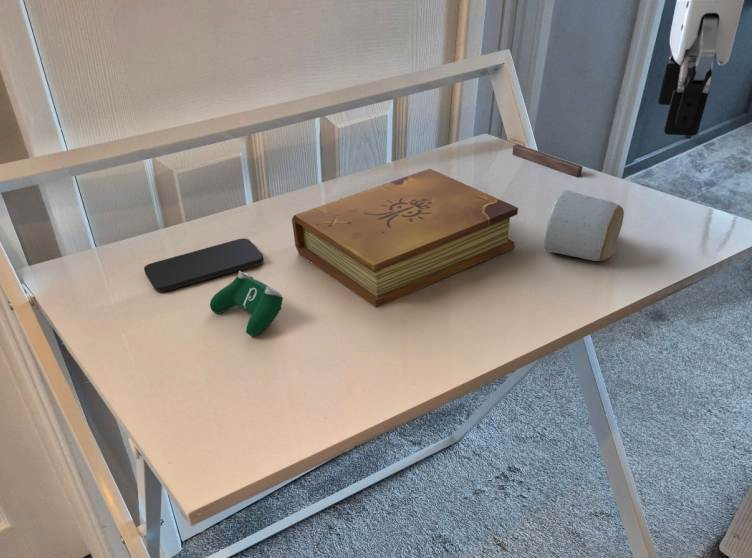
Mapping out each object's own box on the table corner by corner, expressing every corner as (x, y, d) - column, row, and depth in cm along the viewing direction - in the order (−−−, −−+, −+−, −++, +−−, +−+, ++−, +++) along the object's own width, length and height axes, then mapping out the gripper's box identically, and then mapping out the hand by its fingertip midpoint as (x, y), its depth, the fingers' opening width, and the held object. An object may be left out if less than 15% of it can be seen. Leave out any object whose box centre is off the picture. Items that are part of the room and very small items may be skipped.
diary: (426, 205, 103) (426, 166, 99) (513, 249, 91) (518, 207, 87) (295, 252, 93) (290, 211, 90) (375, 307, 82) (373, 263, 78)
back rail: (581, 175, 108) (582, 166, 107) (576, 177, 108) (578, 167, 107) (516, 152, 117) (517, 143, 116) (512, 154, 116) (513, 145, 115)
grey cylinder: (603, 273, 85) (616, 213, 80) (540, 260, 89) (549, 202, 83) (623, 239, 92) (637, 182, 87) (564, 228, 95) (573, 172, 90)
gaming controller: (270, 346, 80) (294, 300, 79) (248, 335, 77) (273, 288, 76) (226, 317, 85) (248, 274, 84) (204, 306, 82) (226, 262, 81)
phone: (141, 265, 91) (246, 236, 95) (143, 271, 91) (247, 242, 96) (156, 289, 86) (265, 257, 91) (157, 295, 87) (266, 263, 91)
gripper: (792, -74, 54) (724, 149, 66) (757, -97, 66) (704, 95, 78) (692, -72, 56) (642, 145, 67) (675, -95, 68) (636, 93, 79)
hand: (676, 118), depth 73 cm, fingers open, 9 cm apart
